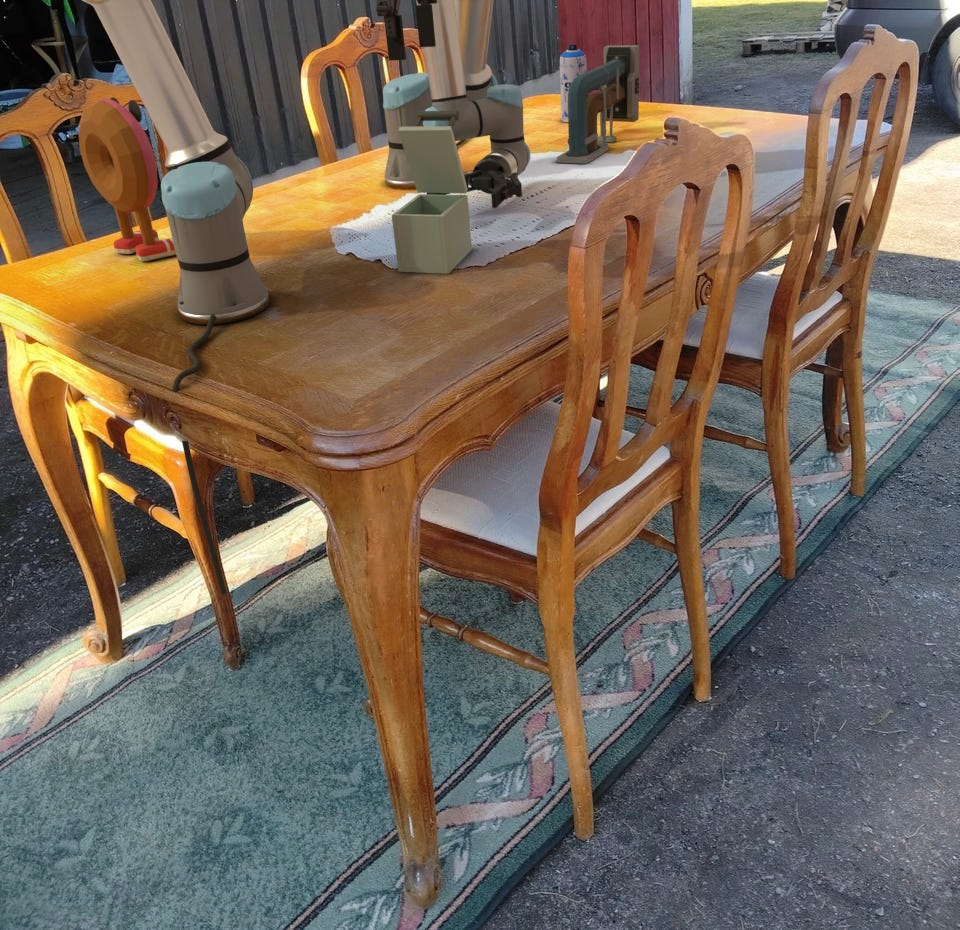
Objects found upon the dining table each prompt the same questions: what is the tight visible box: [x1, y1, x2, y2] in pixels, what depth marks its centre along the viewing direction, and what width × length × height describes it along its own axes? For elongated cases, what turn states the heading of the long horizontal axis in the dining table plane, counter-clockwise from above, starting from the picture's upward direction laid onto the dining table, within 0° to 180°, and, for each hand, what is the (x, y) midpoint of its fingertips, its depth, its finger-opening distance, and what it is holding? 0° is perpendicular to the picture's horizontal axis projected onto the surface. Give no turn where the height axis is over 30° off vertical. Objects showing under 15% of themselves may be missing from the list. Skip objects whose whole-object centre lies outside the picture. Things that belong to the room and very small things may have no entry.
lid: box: [398, 111, 468, 194], centre depth 176 cm, size 14×10×8 cm
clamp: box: [555, 44, 640, 164], centre depth 242 cm, size 35×9×21 cm, turn 151°
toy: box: [78, 96, 177, 262], centre depth 190 cm, size 21×10×30 cm, turn 47°
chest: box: [391, 193, 473, 275], centre depth 177 cm, size 13×10×10 cm
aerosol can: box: [559, 43, 588, 123], centre depth 273 cm, size 8×8×20 cm
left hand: (413, 53), depth 161 cm, fingers open, 13 cm apart
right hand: (460, 200), depth 190 cm, fingers open, 13 cm apart
